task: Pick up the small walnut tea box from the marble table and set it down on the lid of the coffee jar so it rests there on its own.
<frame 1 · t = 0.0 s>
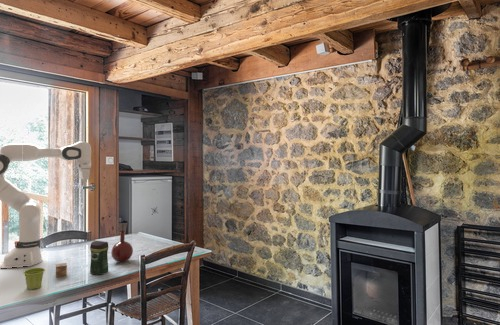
hand: (83, 185, 226), 48 cm above the table, fingers open, 8 cm apart
walnut box: (61, 275, 188), on the table
coffee jar: (99, 273, 194), on the table
plant pot: (34, 287, 171), on the table
round-bottom flask: (122, 262, 214), on the table
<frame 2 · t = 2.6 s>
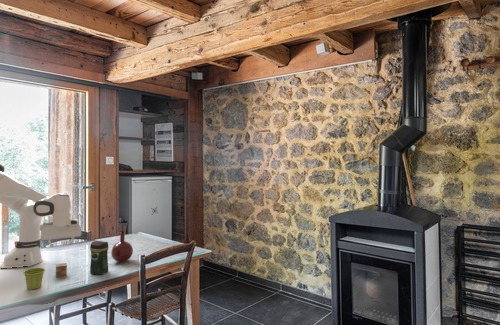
hand: (61, 245, 188), 17 cm above the table, fingers open, 8 cm apart
nothing on the table moved.
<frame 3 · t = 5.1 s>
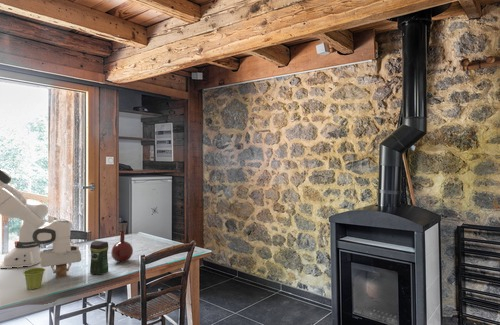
hand: (61, 271, 188), 2 cm above the table, fingers closed on walnut box, 5 cm apart
walnut box: (61, 275, 188), on the table, touching gripper
everything else where it was.
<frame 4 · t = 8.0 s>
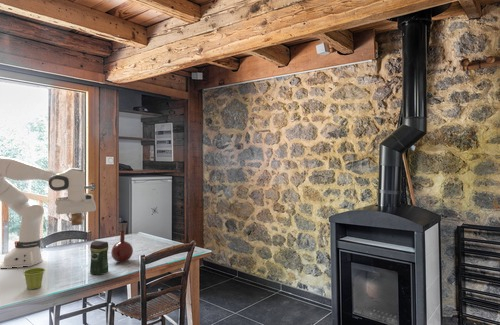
hand: (76, 220, 189), 31 cm above the table, fingers closed on walnut box, 5 cm apart
walnut box: (76, 224, 189), point 29 cm above the table, touching gripper
everything else where it was.
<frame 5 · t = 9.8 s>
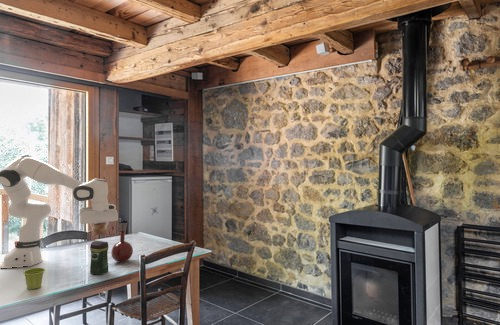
hand: (99, 230, 193), 25 cm above the table, fingers closed on walnut box, 5 cm apart
walnut box: (99, 233, 193), point 23 cm above the table, touching gripper
everything else where it was.
when the fingers open (22 cm above the table, at t = 11.2 s): walnut box drops 1 cm, resting on coffee jar.
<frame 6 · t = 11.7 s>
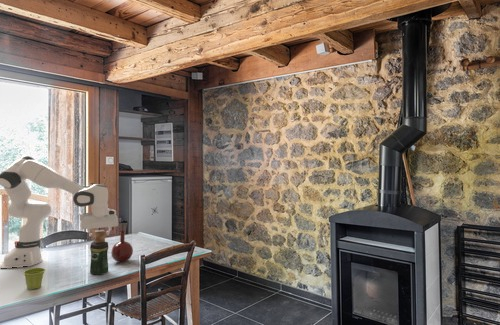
hand: (99, 235, 193), 22 cm above the table, fingers open, 8 cm apart
walnut box: (99, 241, 193), point 18 cm above the table, touching coffee jar
coffee jar: (99, 273, 194), on the table, touching walnut box
everything else where it was.
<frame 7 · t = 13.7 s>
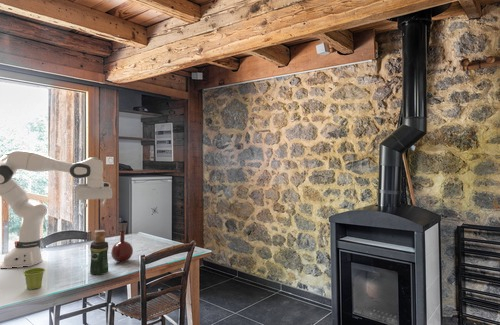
hand: (94, 206, 202), 37 cm above the table, fingers open, 8 cm apart
nothing on the table moved.
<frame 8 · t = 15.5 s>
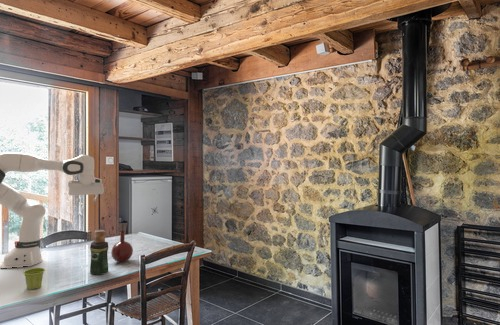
hand: (86, 201, 211), 39 cm above the table, fingers open, 8 cm apart
nothing on the table moved.
at the end: walnut box point 18.5 cm above the table; walnut box 0.1 cm from the coffee jar (horizontally); the gripper is holding nothing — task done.
